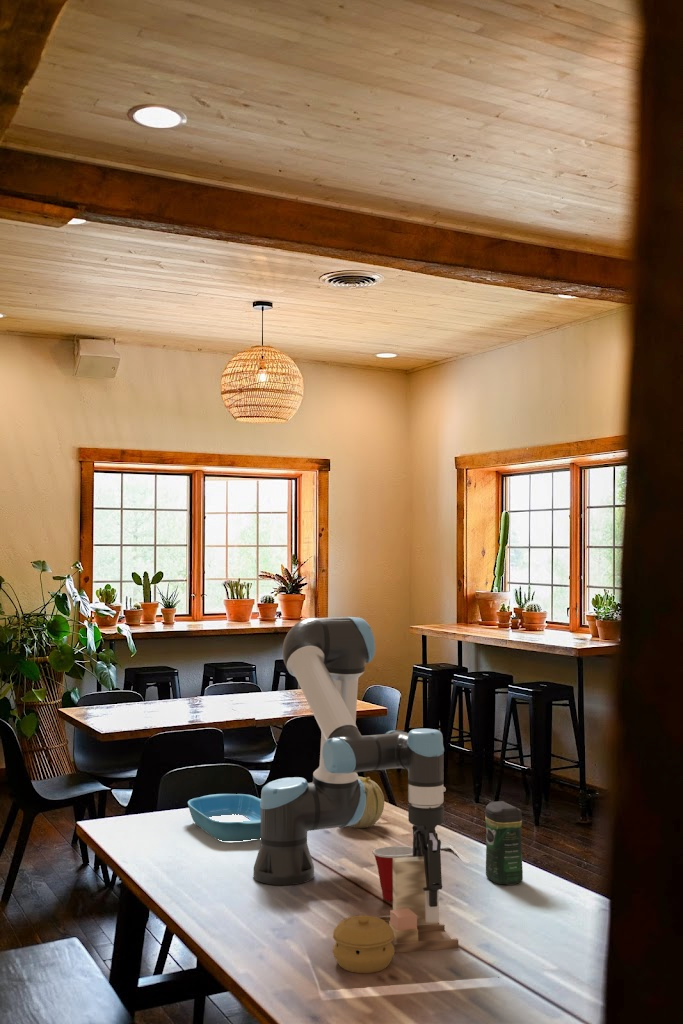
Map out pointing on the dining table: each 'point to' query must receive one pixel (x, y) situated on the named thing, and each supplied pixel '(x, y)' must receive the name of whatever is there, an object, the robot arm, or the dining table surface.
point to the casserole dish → (227, 806)
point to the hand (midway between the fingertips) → (426, 914)
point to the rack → (426, 938)
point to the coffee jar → (503, 843)
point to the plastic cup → (389, 866)
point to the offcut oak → (404, 935)
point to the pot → (363, 944)
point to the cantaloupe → (371, 804)
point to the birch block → (410, 886)
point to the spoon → (445, 844)
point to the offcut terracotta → (403, 919)
